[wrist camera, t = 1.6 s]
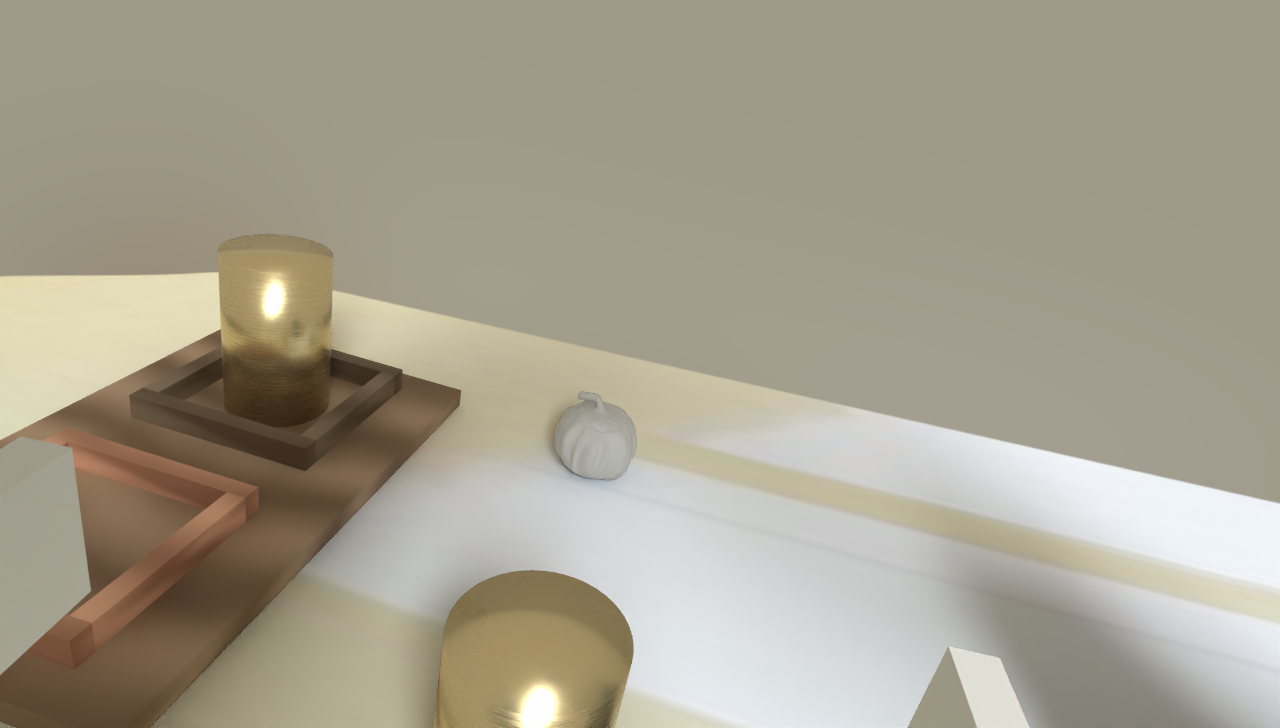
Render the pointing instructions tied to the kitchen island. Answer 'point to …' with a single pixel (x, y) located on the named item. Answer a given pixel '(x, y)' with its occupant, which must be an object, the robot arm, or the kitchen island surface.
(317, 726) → the kitchen island surface
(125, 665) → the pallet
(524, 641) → the brass billet
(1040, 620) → the kitchen island surface
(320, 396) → the cylinder
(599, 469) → the garlic
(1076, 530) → the kitchen island surface
